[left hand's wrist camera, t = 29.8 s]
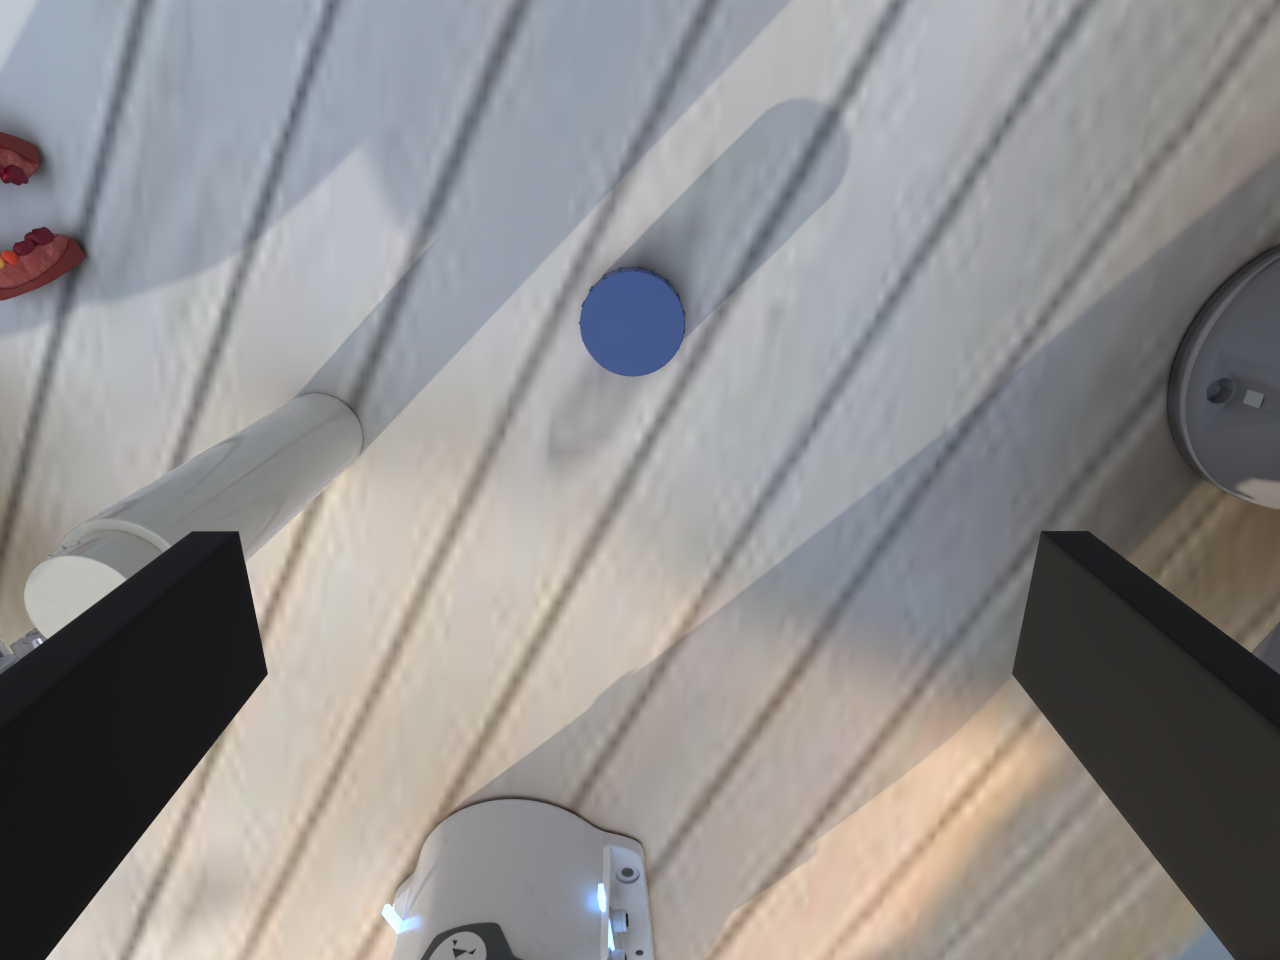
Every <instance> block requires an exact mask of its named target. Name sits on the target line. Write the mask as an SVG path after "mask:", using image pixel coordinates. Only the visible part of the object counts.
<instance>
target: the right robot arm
mask: <svg viewBox="0 0 1280 960" xmlns="http://www.w3.org/2000/svg"><path fill="white" fill-rule="evenodd" d="M46 640H47V638H46V637H44V636H43V635H42V633H41V632H40V631H39V630H38V629H37V628H35V629H33V630H32V631H30V632H29V633H27V635H26V637H24V638H20V639H19V640H17V641H16V642H14V643H13V644H12V645H10V647H11V649H12V651H13V652H14V654H11V653H10V652H9V650H8V649H7V647H6V646H5V644H4V643H3V641H2V640H1V638H0V674H1V673H3V672H4V671H5V670H7V669H8V668H9V667H11V666H12V665H13V664H15V663H16V662H17V661H19V660H20V659H22V658H23V657H24V656H26V655H27V654H28V653H30V652H31V651H32V650H34V649H35V648H36V647H38V646H39V645H40V644H42V643H43V642H44V641H46ZM627 868H629V869H627ZM382 915H383V916H384V917H385V918H386V920H387V921H388V922H389V923H390V925H391V926H392V927H393V928H394V930H395V931H396V932H397V933H398V934H397V938H396V942H395V946H394V951H393V955H392V960H655V953H654V943H653V934H652V924H651V914H650V905H649V895H648V886H647V876H646V866H645V857H644V850H643V847H642V846H641V844H640V843H639V842H637V841H635V840H633V839H631V838H628V837H625V836H621V835H617V834H613V833H608V832H604V831H601V830H599V829H597V828H595V827H594V826H592V825H590V824H589V823H587V822H586V821H584V820H583V819H581V818H580V817H578V816H576V815H574V814H573V813H571V812H569V811H566V810H564V809H562V808H559V807H556V806H553V805H550V804H546V803H543V802H538V801H532V800H523V799H502V800H493V801H487V802H483V803H479V804H475V805H472V806H469V807H467V808H464V809H462V810H460V811H458V812H456V813H454V814H452V815H451V816H449V817H448V818H446V819H445V820H444V821H443V822H441V823H440V824H439V825H438V826H437V827H436V828H435V829H434V830H433V831H432V832H431V834H430V835H429V836H428V838H427V840H426V841H425V843H424V845H423V847H422V850H421V853H420V856H419V860H418V863H417V866H416V869H415V871H414V873H413V874H412V875H411V876H410V877H409V878H408V879H407V880H406V881H405V882H403V884H402V885H401V886H400V887H399V888H398V890H397V891H396V894H395V898H394V903H393V909H392V907H391V906H390V905H389V904H387V905H385V907H384V909H383V912H382Z"/></svg>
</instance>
